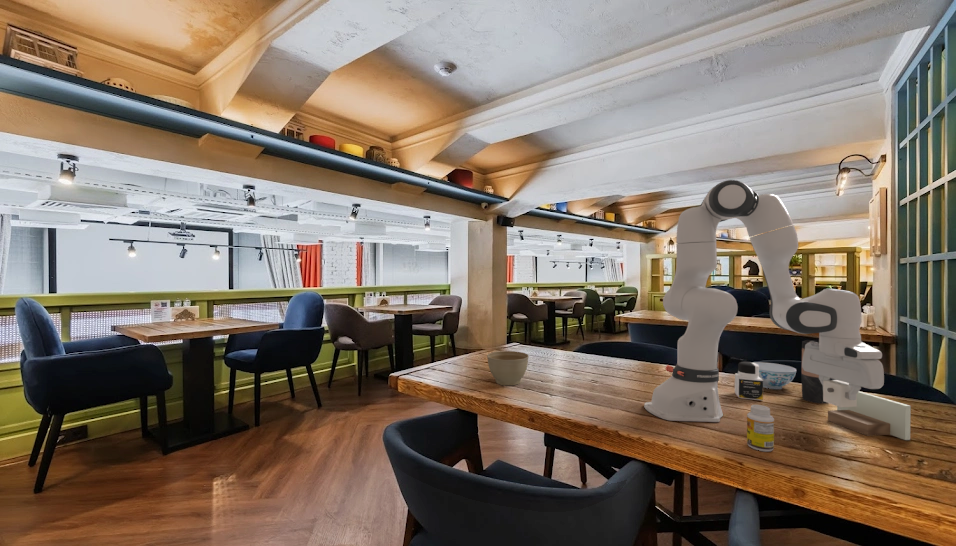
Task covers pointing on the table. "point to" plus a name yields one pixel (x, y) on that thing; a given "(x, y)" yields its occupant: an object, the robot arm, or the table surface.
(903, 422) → the wall board
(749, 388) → the medicine bottle
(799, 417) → the table surface
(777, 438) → the table surface
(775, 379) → the chinaware
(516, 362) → the planter bowl
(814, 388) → the travel mug
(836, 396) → the cabinet block
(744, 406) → the table surface
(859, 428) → the cleat ledge
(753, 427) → the supplement bottle
